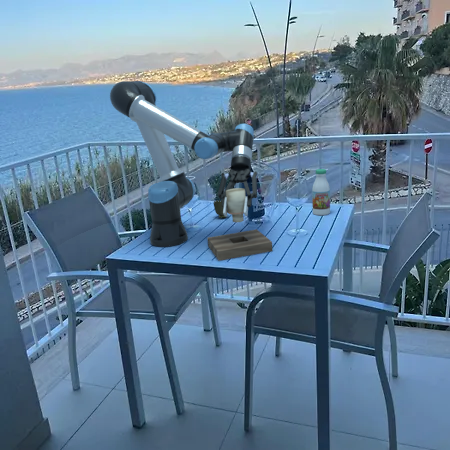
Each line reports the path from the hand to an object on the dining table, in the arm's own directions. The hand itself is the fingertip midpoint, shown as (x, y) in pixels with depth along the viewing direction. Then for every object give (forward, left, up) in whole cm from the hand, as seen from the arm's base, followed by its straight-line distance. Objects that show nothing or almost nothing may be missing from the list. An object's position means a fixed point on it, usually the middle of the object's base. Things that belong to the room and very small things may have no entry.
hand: (235, 214), depth 143 cm
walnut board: (-3, +1, -14) cm, 15 cm away
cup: (-45, +6, -14) cm, 48 cm away
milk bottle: (-28, +48, -14) cm, 58 cm away
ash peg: (-3, +2, -3) cm, 5 cm away
